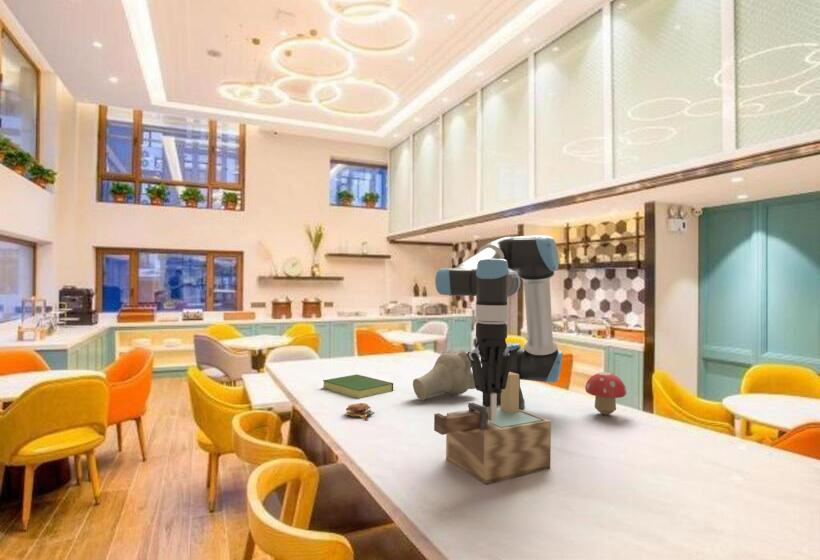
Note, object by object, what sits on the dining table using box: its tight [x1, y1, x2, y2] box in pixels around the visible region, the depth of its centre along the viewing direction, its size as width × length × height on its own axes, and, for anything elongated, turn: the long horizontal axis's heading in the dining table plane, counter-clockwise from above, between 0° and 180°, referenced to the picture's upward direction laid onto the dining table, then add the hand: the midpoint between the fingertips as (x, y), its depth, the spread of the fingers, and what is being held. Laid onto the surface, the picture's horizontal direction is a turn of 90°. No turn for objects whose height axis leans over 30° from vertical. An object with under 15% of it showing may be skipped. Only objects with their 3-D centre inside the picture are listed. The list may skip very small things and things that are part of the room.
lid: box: [488, 372, 542, 428], centre depth 120 cm, size 13×14×12 cm
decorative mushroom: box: [584, 371, 627, 415], centre depth 164 cm, size 13×13×15 cm
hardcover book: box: [322, 373, 394, 399], centre depth 198 cm, size 25×19×4 cm
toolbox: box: [445, 402, 552, 485], centre depth 118 cm, size 24×17×17 cm
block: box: [433, 411, 488, 436], centre depth 109 cm, size 13×3×4 cm, turn 118°
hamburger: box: [345, 402, 375, 422], centre depth 159 cm, size 14×14×6 cm
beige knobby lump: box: [412, 349, 476, 401], centre depth 186 cm, size 22×22×28 cm
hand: (490, 419), depth 113 cm, fingers closed
